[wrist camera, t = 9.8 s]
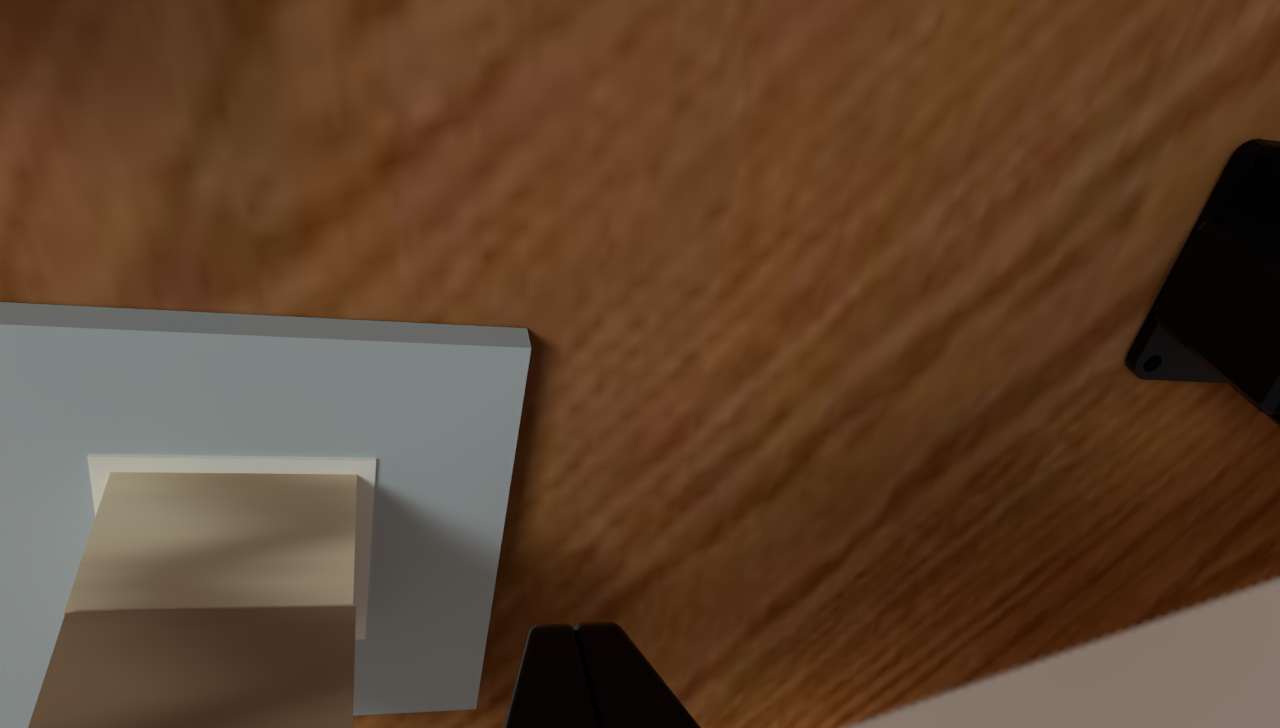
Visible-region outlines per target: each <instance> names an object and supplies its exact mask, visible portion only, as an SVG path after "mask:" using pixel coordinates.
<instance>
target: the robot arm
mask: <svg viewBox="0 0 1280 728" xmlns="http://www.w3.org/2000/svg"><path fill="white" fill-rule="evenodd" d="M1257 158H1258V159H1257ZM1256 159H1257V161H1256V162H1255V163H1254V165H1253V166H1251V164H1252V163H1253V162H1254V161H1255V160H1256ZM1147 359H1148V360H1147ZM1126 366H1127V367H1128V368H1129V369H1130V370H1131V371H1132V372H1133V373H1134V374H1135V375H1136V376H1137V377H1138V378H1141V379H1148V380H1171V381H1194V382H1217V383H1228V384H1229V385H1230V386H1231V387H1233V388H1234V389H1235V390H1236V391H1237V392H1238V393H1240V394H1241V395H1242V396H1243V397H1244V398H1245V399H1247V400H1248V401H1249V402H1250V403H1251V404H1252V405H1253V406H1255V407H1256V408H1257V409H1258V410H1259V411H1261V412H1263V413H1265V414H1266V415H1267V416H1268V417H1269V418H1271V419H1272V420H1273V421H1274V422H1275V423H1276V424H1278V425H1279V426H1280V141H1272V140H1264V139H1253V140H1250V141H1248V142H1245V143H1243V144H1242V145H1241V146H1240V147H1239V148H1238V149H1236V151H1235V152H1234V154H1233V155H1232V156H1231V158H1230V160H1229V162H1228V164H1227V166H1226V168H1225V170H1224V171H1223V173H1222V175H1221V177H1220V179H1219V181H1218V183H1217V185H1216V187H1215V189H1214V190H1213V192H1212V194H1211V196H1210V198H1209V200H1208V202H1207V204H1206V206H1205V208H1204V210H1203V211H1202V213H1201V215H1200V217H1199V219H1198V221H1197V223H1196V225H1195V227H1194V229H1193V230H1192V232H1191V234H1190V236H1189V238H1188V240H1187V242H1186V244H1185V246H1184V248H1183V250H1182V251H1181V253H1180V255H1179V257H1178V259H1177V261H1176V263H1175V265H1174V267H1173V269H1172V270H1171V272H1170V274H1169V276H1168V278H1167V280H1166V282H1165V284H1164V286H1163V288H1162V290H1161V291H1160V293H1159V295H1158V297H1157V299H1156V301H1155V303H1154V305H1153V307H1152V309H1151V310H1150V312H1149V314H1148V316H1147V318H1146V320H1145V322H1144V324H1143V326H1142V328H1141V330H1140V331H1139V333H1138V335H1137V337H1136V339H1135V341H1134V343H1133V345H1132V347H1131V349H1130V350H1129V352H1128V354H1127V357H1126ZM504 728H700V726H699V725H698V724H697V723H696V721H695V720H694V719H693V718H692V716H691V715H690V714H689V713H688V711H687V710H686V709H685V708H684V706H683V705H682V704H681V702H680V701H679V700H678V699H677V697H676V696H675V695H674V694H673V692H672V691H671V690H670V689H669V687H668V686H667V685H666V684H665V682H664V681H663V680H662V678H661V677H660V676H659V675H658V673H657V672H656V671H655V670H654V668H653V667H652V666H651V665H650V663H649V662H648V661H647V660H646V658H645V657H644V656H643V654H642V653H641V652H640V651H639V649H638V648H637V647H636V646H635V644H634V643H633V642H632V641H631V639H630V638H629V637H628V636H627V634H626V633H625V632H624V630H623V629H622V628H621V627H620V626H619V625H618V624H616V623H614V622H591V623H580V624H577V625H576V626H575V627H574V629H573V628H572V626H571V625H569V624H548V625H535V626H533V627H532V628H531V629H530V631H529V634H528V637H527V641H526V645H525V648H524V652H523V656H522V660H521V664H520V668H519V671H518V675H517V679H516V683H515V687H514V691H513V694H512V698H511V702H510V706H509V710H508V714H507V718H506V721H505V725H504Z"/></svg>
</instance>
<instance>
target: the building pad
mask: <svg viewBox="0 0 1280 728" xmlns="http://www.w3.org/2000/svg"><path fill="white" fill-rule="evenodd" d="M530 354H531V344H530V340H529V335H528V330H527V328H510V327H490V326H470V325H450V324H430V323H410V322H390V321H369V320H349V319H329V318H309V317H289V316H269V315H249V314H229V313H209V312H189V311H169V310H149V309H129V308H109V307H89V306H69V305H49V304H29V303H9V302H0V728H28V726H29V723H30V720H31V717H32V714H33V711H34V708H35V705H36V702H37V699H38V696H39V693H40V689H41V686H42V683H43V680H44V677H45V674H46V671H47V668H48V665H49V662H50V659H51V656H52V653H53V650H54V647H55V644H56V641H57V638H58V635H59V631H60V628H61V625H62V622H63V614H64V611H65V608H66V605H67V602H68V599H69V596H70V593H71V590H72V587H73V584H74V581H75V578H76V575H77V572H78V569H79V566H80V562H81V559H82V556H83V553H84V550H85V547H86V544H87V541H88V538H89V535H90V532H91V529H92V526H93V523H94V520H95V517H96V514H97V511H98V508H99V505H100V502H101V499H102V496H103V493H104V490H105V487H106V484H107V481H108V477H109V474H110V472H162V473H261V474H357V486H356V521H355V556H354V591H353V606H356V625H355V665H354V704H353V716H355V715H374V714H394V713H413V712H432V711H452V710H471V709H476V706H477V700H478V693H479V687H480V680H481V674H482V667H483V661H484V654H485V647H486V641H487V634H488V628H489V621H490V615H491V608H492V602H493V595H494V589H495V582H496V576H497V569H498V563H499V556H500V550H501V543H502V537H503V530H504V523H505V517H506V510H507V504H508V497H509V491H510V484H511V478H512V471H513V465H514V458H515V452H516V445H517V439H518V432H519V426H520V419H521V412H522V406H523V399H524V393H525V386H526V380H527V373H528V367H529V360H530Z"/></svg>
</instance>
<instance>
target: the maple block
mask: <svg viewBox="0 0 1280 728" xmlns="http://www.w3.org/2000/svg"><path fill="white" fill-rule="evenodd" d="M356 486H357V474H261V473H162V472H110V474H109V477H108V481H107V484H106V487H105V490H104V493H103V496H102V499H101V502H100V505H99V508H98V511H97V514H96V517H95V520H94V523H93V526H92V529H91V532H90V535H89V538H88V541H87V544H86V547H85V550H84V553H83V556H82V559H81V562H80V566H79V569H78V572H77V575H76V578H75V581H74V584H73V587H72V590H71V593H70V596H69V599H68V602H67V605H66V608H65V611H64V614H63V619H64V616H65V613H79V612H124V611H168V610H212V609H257V608H301V607H346V606H353V591H354V556H355V521H356Z"/></svg>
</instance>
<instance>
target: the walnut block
mask: <svg viewBox="0 0 1280 728" xmlns="http://www.w3.org/2000/svg"><path fill="white" fill-rule="evenodd" d="M355 625H356V606H346V607H301V608H257V609H212V610H168V611H124V612H79V613H65V616H64V619H63V622H62V625H61V628H60V631H59V635H58V638H57V641H56V644H55V647H54V650H53V653H52V656H51V659H50V662H49V665H48V668H47V671H46V674H45V677H44V680H43V683H42V686H41V689H40V693H39V696H38V699H37V702H36V705H35V708H34V711H33V714H32V717H31V720H30V723H29V726H28V728H353V704H354V665H355Z"/></svg>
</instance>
